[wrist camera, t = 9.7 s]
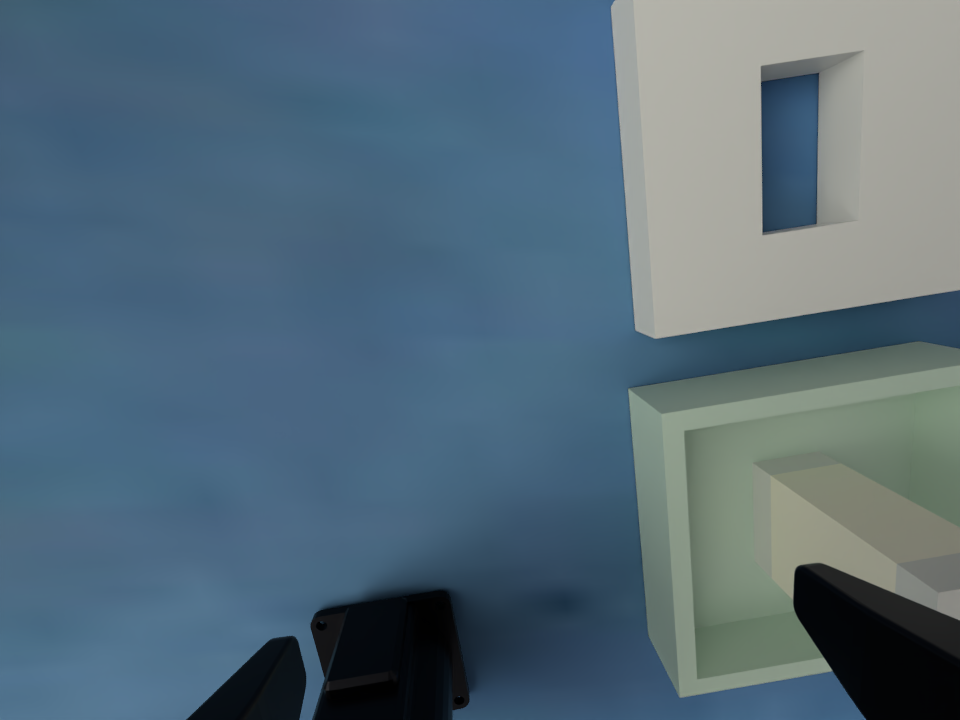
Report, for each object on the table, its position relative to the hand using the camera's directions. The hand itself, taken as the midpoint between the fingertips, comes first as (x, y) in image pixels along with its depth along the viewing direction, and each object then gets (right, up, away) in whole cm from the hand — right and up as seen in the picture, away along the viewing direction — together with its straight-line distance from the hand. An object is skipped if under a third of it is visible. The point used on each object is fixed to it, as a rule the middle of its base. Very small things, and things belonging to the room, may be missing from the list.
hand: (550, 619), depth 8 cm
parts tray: (+13, -2, +13) cm, 18 cm away
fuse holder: (+10, +13, +10) cm, 19 cm away
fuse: (+13, -2, +13) cm, 18 cm away
